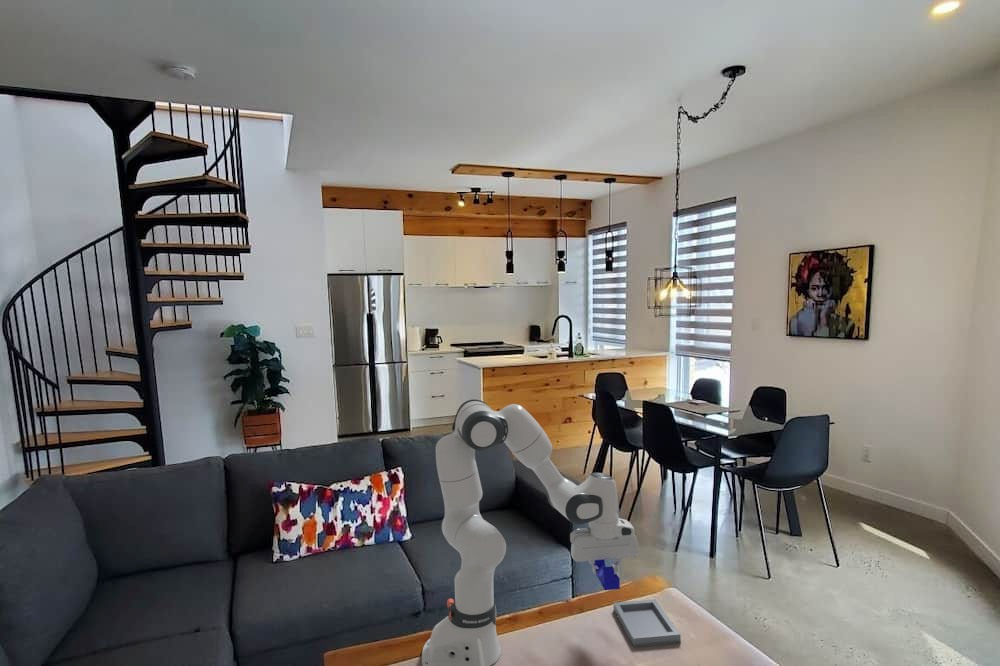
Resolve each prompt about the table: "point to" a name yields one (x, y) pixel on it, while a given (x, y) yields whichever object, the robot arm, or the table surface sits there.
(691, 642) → the table surface
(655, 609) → the tray
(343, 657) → the table surface
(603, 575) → the blue angular stepped piece
